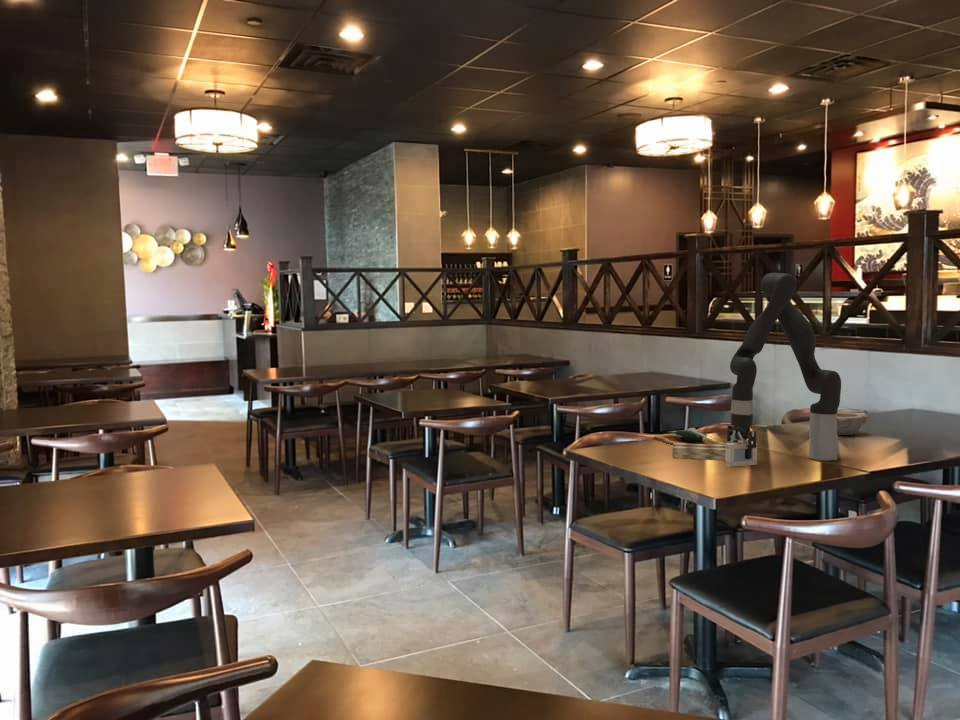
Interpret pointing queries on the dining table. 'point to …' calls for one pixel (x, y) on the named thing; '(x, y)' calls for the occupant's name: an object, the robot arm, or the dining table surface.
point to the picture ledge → (699, 451)
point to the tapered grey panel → (739, 455)
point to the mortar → (850, 422)
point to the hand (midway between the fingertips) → (740, 456)
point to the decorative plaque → (686, 437)
